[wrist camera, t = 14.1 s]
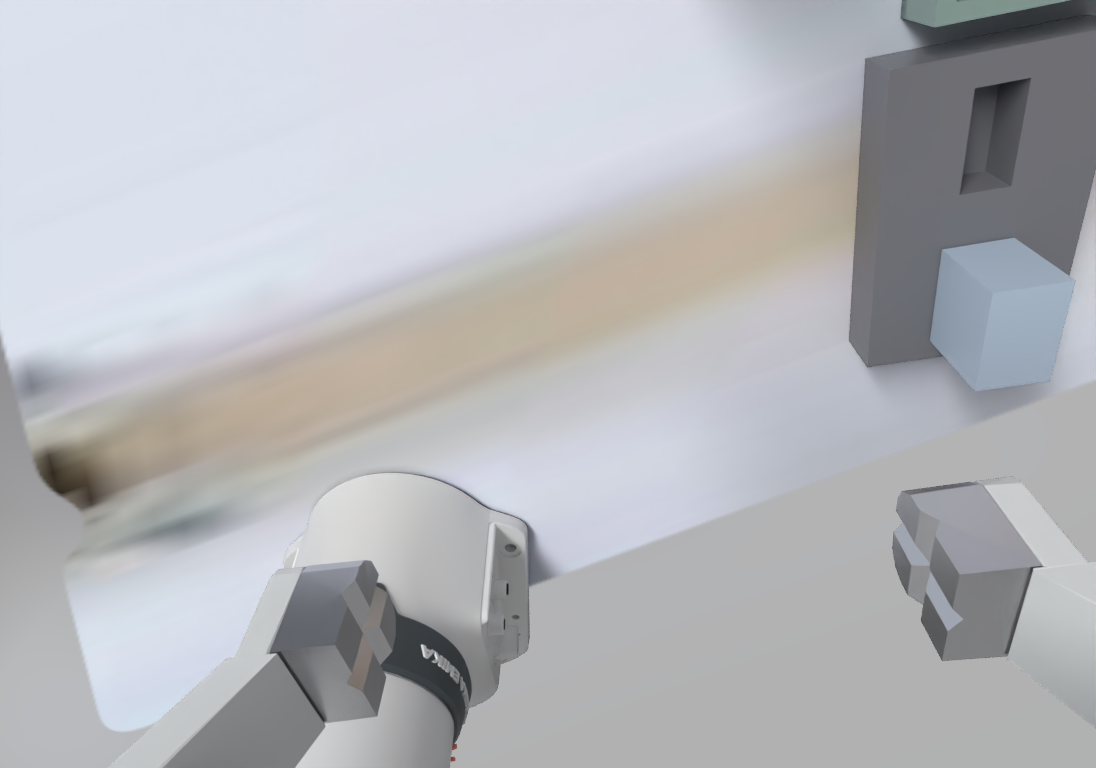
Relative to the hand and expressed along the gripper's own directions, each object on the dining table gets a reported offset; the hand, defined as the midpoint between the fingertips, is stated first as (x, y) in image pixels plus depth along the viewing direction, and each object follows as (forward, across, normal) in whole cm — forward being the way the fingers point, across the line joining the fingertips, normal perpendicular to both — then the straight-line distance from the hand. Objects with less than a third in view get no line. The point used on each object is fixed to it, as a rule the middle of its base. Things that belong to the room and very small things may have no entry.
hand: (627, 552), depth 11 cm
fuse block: (+29, +19, -8) cm, 36 cm away
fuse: (+29, +19, -12) cm, 36 cm away
